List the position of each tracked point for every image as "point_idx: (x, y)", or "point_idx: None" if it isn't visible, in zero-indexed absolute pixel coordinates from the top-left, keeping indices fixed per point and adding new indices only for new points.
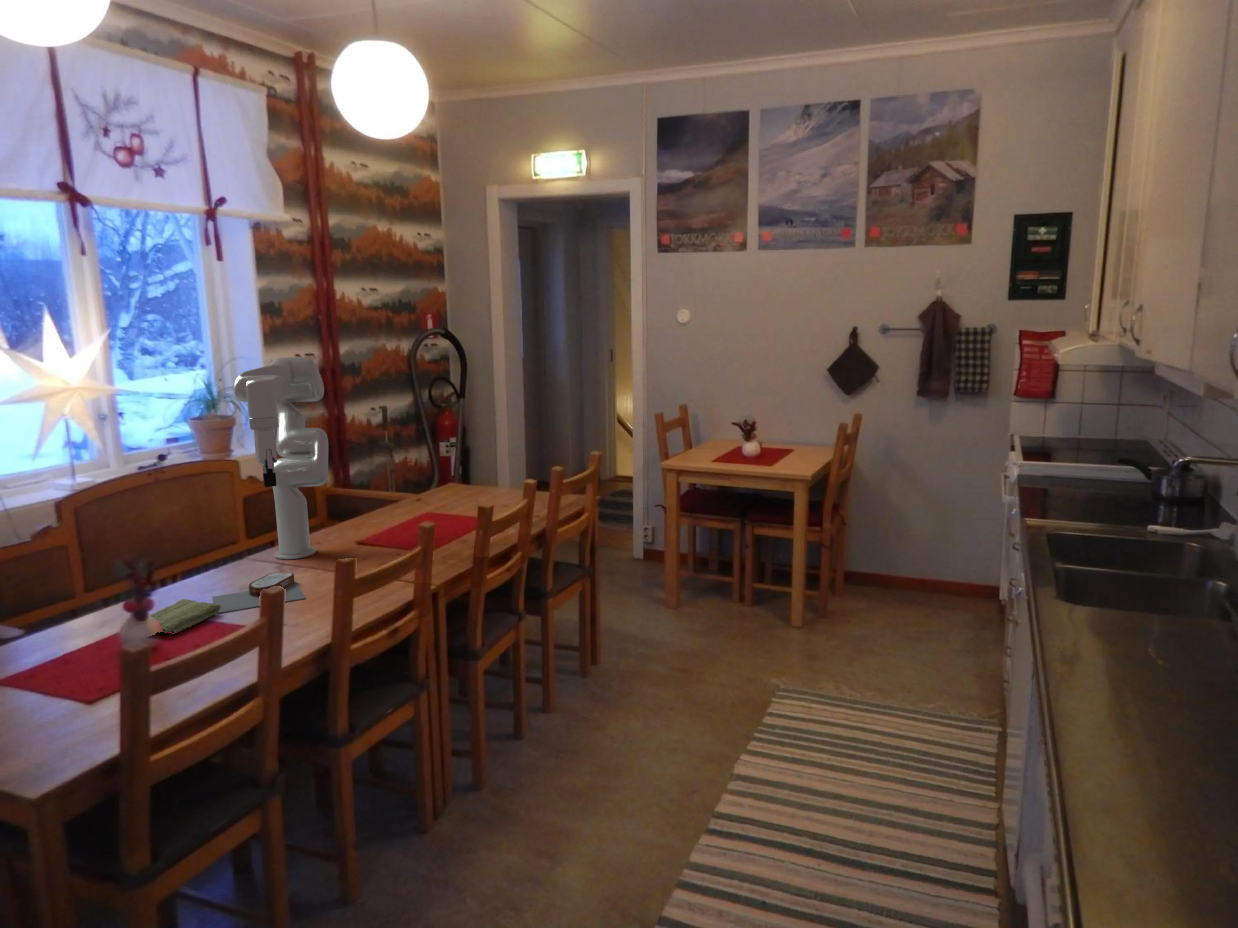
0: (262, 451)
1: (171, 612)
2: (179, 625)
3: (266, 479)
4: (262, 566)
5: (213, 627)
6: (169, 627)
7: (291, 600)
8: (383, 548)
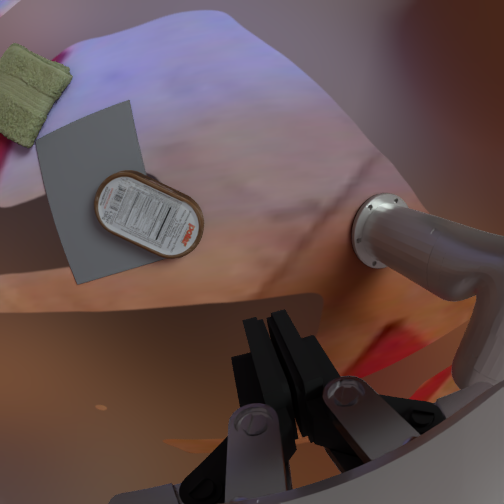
0: None
1: (12, 81)
2: None
3: (253, 368)
4: (327, 172)
5: None
6: None
7: (68, 261)
8: (345, 366)
